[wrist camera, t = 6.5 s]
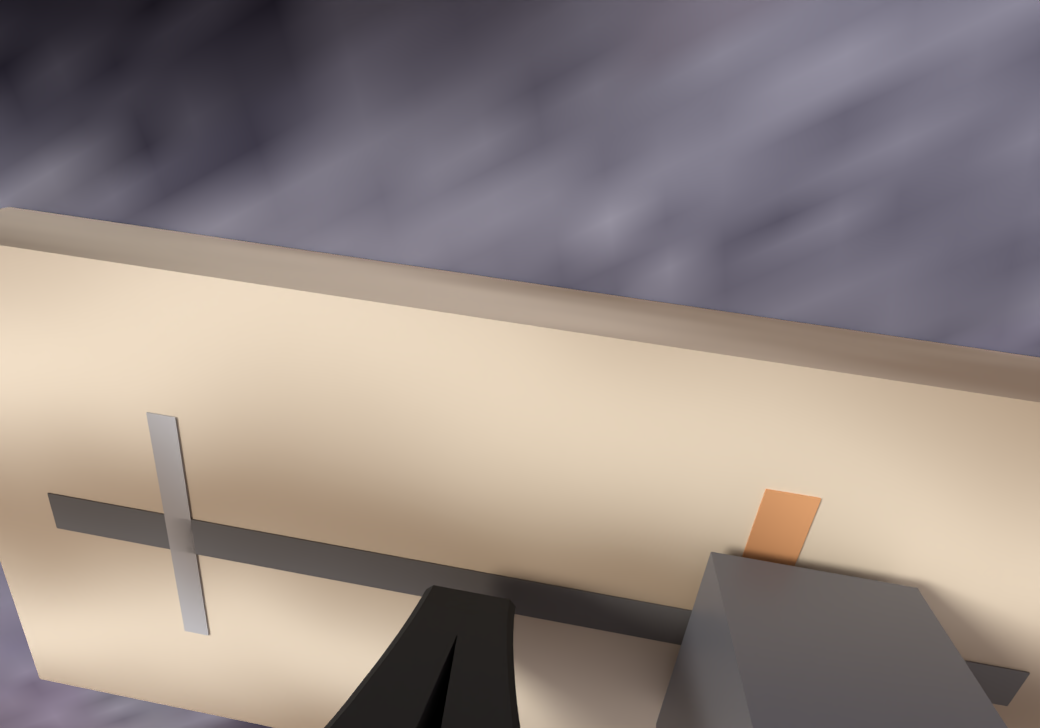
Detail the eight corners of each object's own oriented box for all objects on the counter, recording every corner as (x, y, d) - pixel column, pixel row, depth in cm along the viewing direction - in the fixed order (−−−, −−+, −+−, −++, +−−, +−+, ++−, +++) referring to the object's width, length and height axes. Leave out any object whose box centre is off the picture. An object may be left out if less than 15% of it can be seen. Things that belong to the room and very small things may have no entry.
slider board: (929, 769, 13) (980, 876, 12) (108, 608, 15) (39, 679, 13) (1183, 378, 9) (1326, 446, 7) (10, 207, 11) (-114, 228, 9)
